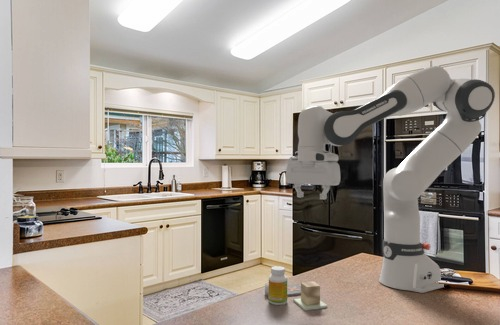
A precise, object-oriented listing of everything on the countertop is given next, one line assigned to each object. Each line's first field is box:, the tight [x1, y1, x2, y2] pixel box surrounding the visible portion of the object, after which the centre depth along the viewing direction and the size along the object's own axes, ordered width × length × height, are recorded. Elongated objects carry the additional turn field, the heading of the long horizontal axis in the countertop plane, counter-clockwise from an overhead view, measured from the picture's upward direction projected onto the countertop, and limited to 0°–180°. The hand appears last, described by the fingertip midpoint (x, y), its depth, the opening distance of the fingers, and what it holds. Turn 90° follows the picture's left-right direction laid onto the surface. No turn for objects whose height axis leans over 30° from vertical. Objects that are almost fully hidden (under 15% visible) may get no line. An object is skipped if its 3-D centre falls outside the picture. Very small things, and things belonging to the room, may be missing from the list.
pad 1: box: [287, 284, 301, 297], centre depth 111 cm, size 7×7×1 cm
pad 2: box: [293, 297, 328, 311], centre depth 101 cm, size 7×7×1 cm
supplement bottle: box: [268, 265, 288, 306], centre depth 102 cm, size 5×5×10 cm
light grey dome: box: [264, 281, 269, 298], centre depth 108 cm, size 5×5×3 cm
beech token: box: [300, 281, 321, 305], centre depth 101 cm, size 4×4×5 cm
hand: (311, 198), depth 117 cm, fingers open, 8 cm apart
